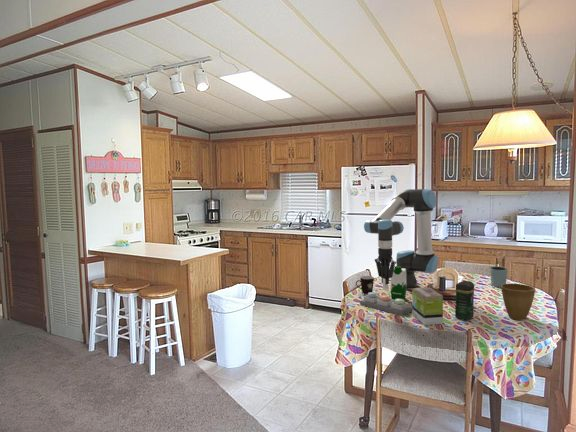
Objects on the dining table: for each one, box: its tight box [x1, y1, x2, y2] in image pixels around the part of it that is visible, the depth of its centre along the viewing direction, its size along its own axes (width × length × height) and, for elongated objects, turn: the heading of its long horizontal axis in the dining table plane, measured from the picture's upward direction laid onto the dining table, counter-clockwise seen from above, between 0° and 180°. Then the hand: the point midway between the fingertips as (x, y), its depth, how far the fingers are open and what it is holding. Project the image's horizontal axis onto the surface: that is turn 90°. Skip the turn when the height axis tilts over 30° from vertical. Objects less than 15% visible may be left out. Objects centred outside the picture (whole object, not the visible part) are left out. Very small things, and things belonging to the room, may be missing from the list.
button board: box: [359, 294, 412, 317], centre depth 220 cm, size 28×10×4 cm, turn 41°
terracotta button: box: [380, 294, 391, 302], centre depth 220 cm, size 5×5×2 cm
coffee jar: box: [454, 280, 475, 321], centre depth 201 cm, size 10×8×19 cm
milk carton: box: [390, 265, 407, 301], centre depth 235 cm, size 9×9×20 cm
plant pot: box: [500, 283, 536, 321], centre depth 199 cm, size 15×15×16 cm
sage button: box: [394, 299, 405, 305], centre depth 213 cm, size 5×5×2 cm
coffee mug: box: [355, 275, 375, 295], centre depth 250 cm, size 12×9×10 cm
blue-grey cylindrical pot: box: [489, 266, 508, 288], centre depth 257 cm, size 10×10×12 cm
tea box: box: [411, 287, 444, 326], centre depth 199 cm, size 15×10×15 cm, turn 5°
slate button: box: [367, 291, 377, 298], centre depth 227 cm, size 5×5×2 cm
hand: (385, 289), depth 220 cm, fingers closed
